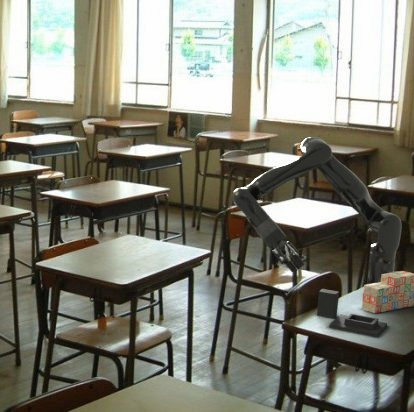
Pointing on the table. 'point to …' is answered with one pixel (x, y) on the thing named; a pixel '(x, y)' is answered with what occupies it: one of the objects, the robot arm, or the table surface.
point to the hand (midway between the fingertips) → (298, 268)
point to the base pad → (359, 324)
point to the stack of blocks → (389, 292)
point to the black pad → (327, 303)
